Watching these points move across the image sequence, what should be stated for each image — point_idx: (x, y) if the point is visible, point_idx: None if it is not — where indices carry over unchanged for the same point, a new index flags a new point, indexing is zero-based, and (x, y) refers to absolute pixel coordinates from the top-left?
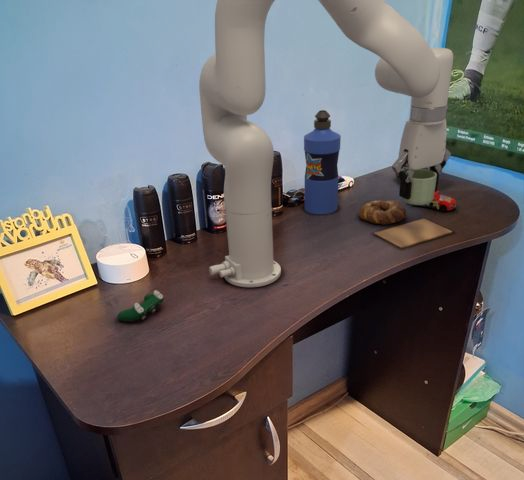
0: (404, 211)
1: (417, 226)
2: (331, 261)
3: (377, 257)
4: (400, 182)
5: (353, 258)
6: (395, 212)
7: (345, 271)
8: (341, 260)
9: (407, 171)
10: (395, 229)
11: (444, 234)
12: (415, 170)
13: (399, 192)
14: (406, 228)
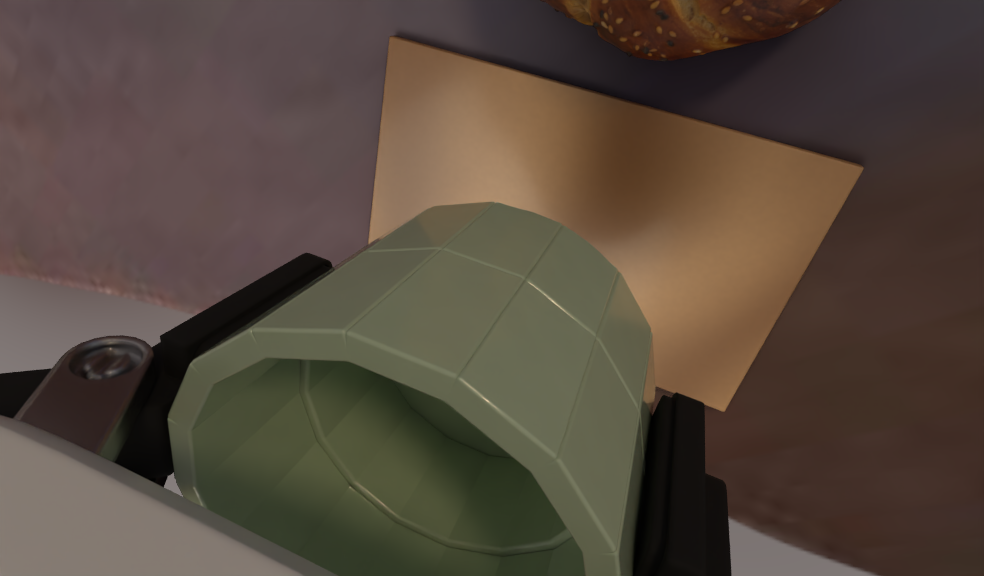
0: (769, 32)
1: (668, 210)
2: (63, 90)
3: (236, 232)
4: (156, 345)
5: (151, 151)
6: (634, 18)
7: (80, 199)
8: (101, 120)
9: (316, 354)
10: (525, 117)
11: (661, 385)
12: (490, 428)
13: (290, 262)
14: (588, 168)
